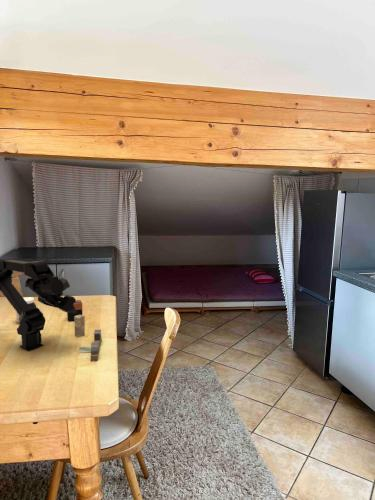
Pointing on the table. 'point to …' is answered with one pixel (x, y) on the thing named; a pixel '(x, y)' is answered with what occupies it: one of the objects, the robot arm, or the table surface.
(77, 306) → the battery
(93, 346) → the rail
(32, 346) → the robot arm
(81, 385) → the table surface
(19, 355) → the table surface
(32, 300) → the spread jar
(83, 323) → the tan wooden block
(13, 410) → the table surface
